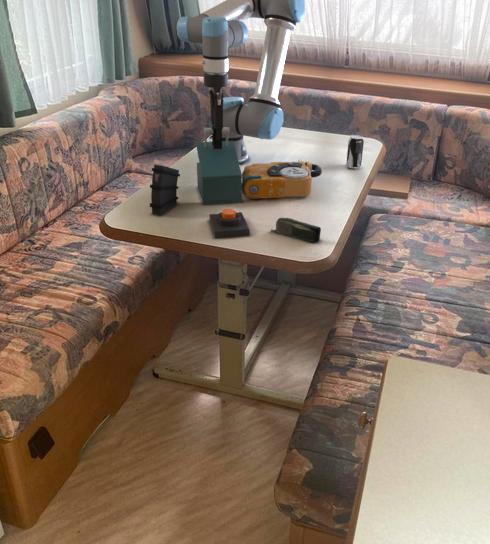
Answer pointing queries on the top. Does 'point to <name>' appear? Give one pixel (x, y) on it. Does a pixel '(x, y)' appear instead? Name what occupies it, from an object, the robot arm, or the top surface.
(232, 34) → the robot arm
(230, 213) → the button
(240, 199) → the teal rectangular block
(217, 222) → the control block
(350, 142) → the beverage can
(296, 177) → the device
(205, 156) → the lid
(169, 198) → the magazine
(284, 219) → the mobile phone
